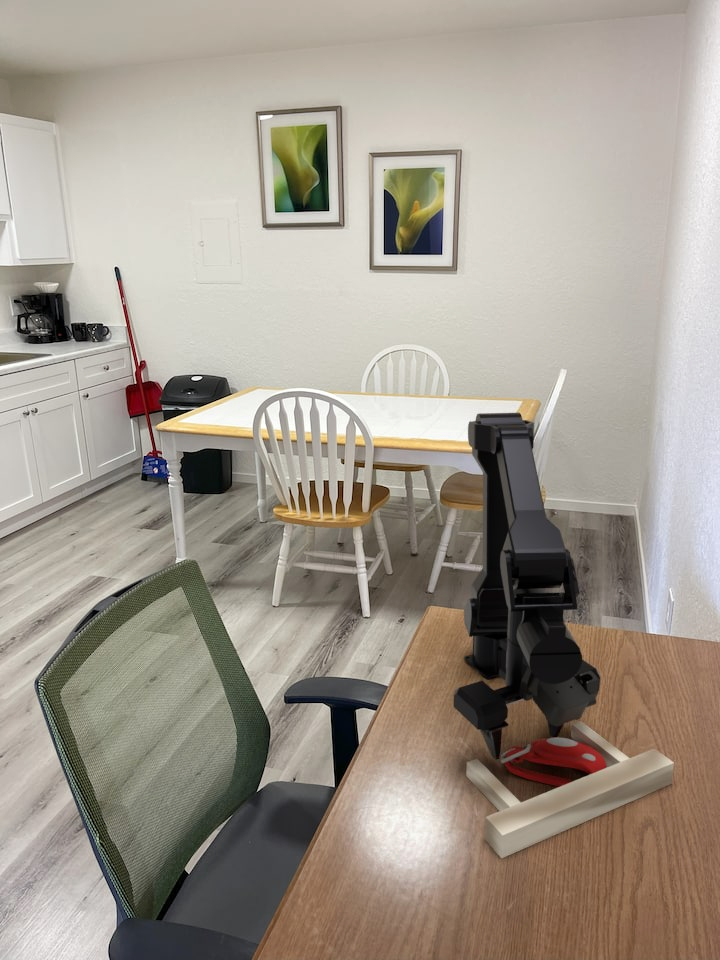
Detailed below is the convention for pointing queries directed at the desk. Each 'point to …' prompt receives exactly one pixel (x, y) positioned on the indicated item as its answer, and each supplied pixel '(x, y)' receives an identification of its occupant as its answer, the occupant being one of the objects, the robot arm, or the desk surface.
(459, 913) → the desk surface
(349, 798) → the desk surface
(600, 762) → the tracker holder
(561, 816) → the frame
